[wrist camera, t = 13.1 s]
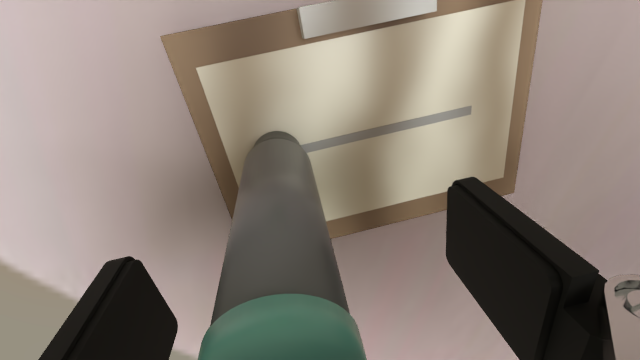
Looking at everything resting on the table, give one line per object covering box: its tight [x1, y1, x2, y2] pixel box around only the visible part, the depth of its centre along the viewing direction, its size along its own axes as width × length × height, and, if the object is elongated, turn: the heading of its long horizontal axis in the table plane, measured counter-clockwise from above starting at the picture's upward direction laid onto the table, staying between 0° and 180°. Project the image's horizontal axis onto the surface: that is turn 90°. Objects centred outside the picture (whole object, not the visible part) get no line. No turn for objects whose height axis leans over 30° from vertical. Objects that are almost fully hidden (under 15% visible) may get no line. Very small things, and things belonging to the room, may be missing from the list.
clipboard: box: [160, 0, 542, 239], centre depth 17 cm, size 18×13×2 cm
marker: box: [198, 131, 367, 360], centre depth 11 cm, size 3×3×12 cm
